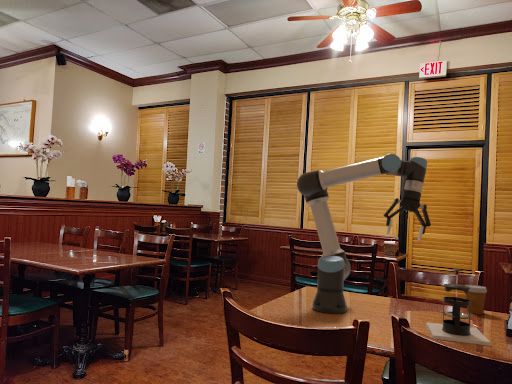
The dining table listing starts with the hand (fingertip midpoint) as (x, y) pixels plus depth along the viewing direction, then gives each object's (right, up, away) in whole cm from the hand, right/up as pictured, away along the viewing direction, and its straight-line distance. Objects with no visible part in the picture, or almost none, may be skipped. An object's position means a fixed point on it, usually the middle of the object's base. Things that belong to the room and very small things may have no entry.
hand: (403, 237), depth 172 cm
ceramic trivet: (+8, -33, -29) cm, 45 cm away
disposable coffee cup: (+37, -37, +9) cm, 53 cm away
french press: (+8, -32, -29) cm, 44 cm away
